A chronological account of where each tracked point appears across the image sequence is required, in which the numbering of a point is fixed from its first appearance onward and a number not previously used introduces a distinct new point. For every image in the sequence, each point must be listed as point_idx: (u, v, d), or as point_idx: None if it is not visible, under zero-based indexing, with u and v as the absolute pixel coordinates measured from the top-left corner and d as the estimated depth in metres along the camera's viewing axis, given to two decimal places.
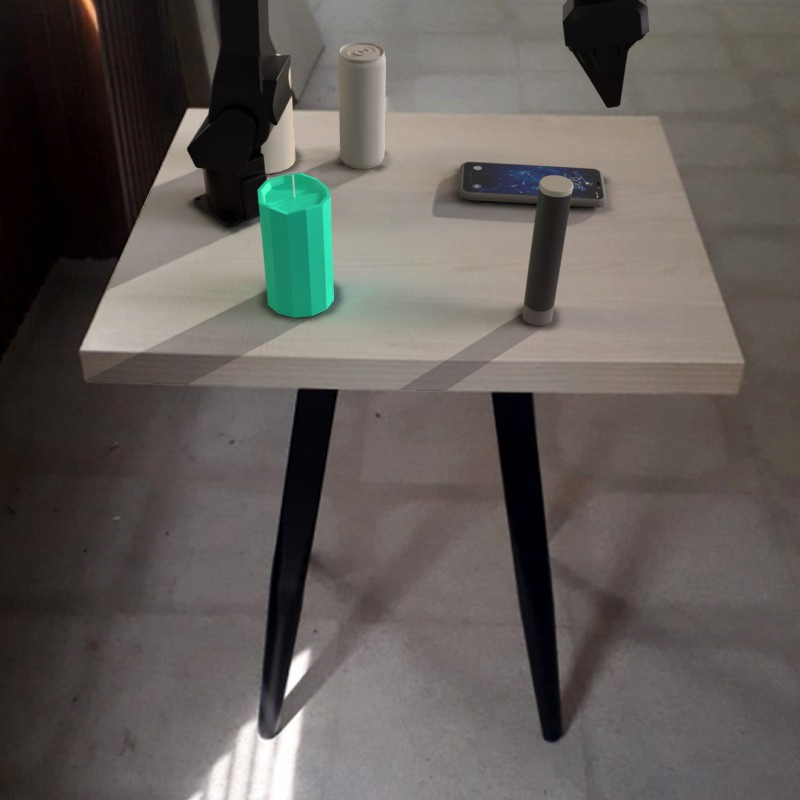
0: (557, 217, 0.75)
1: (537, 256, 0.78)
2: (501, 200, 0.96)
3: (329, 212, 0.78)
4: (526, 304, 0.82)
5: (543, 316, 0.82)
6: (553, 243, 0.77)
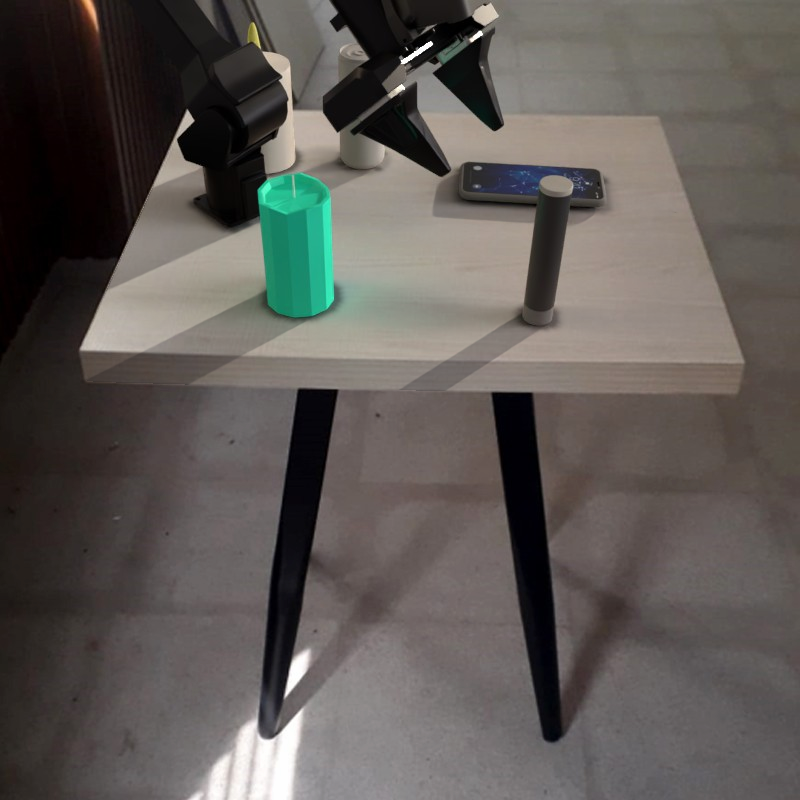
0: (557, 217, 0.75)
1: (537, 256, 0.78)
2: (501, 200, 0.96)
3: (329, 212, 0.78)
4: (526, 304, 0.82)
5: (543, 316, 0.82)
6: (553, 243, 0.77)
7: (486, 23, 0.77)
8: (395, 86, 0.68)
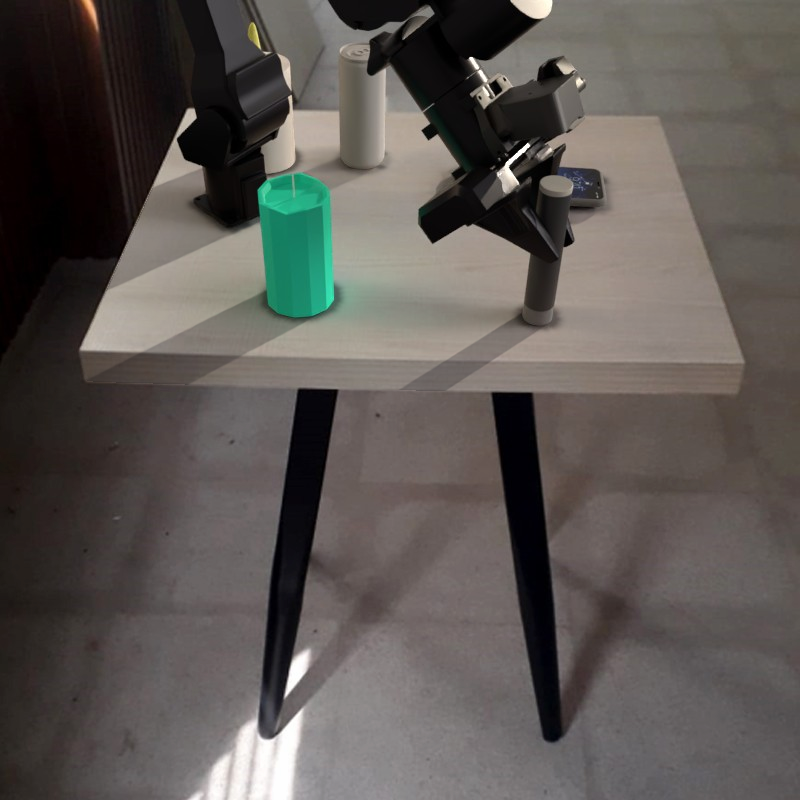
0: (557, 217, 0.75)
1: None
2: None
3: (329, 212, 0.78)
4: (526, 304, 0.82)
5: (543, 316, 0.82)
6: None
7: (573, 127, 0.78)
8: (493, 202, 0.69)
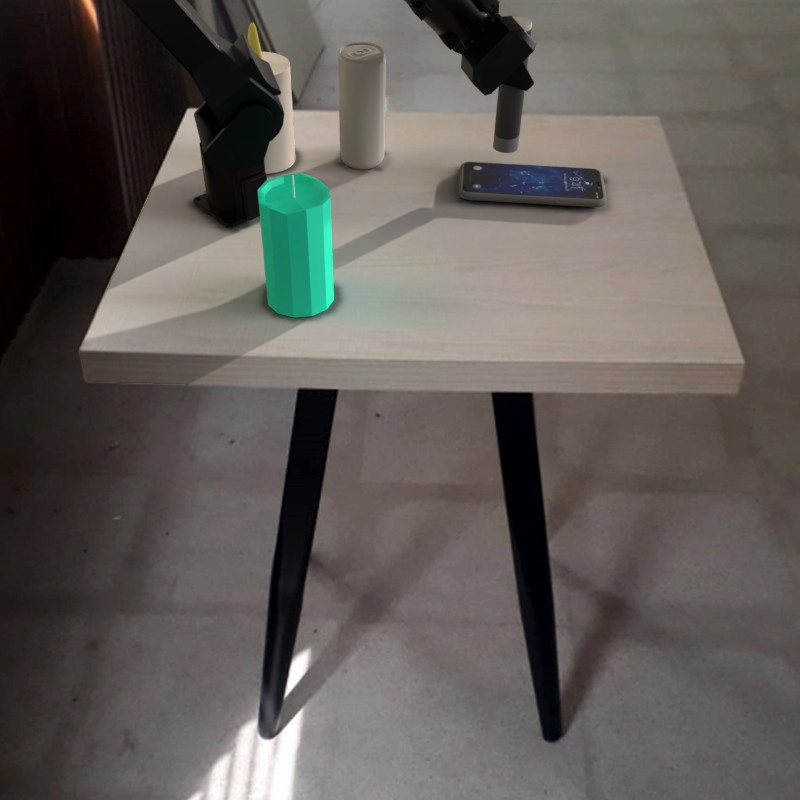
0: None
1: (513, 89, 0.94)
2: (501, 200, 0.96)
3: (329, 212, 0.78)
4: (503, 137, 0.97)
5: (517, 141, 0.98)
6: None
7: None
8: None
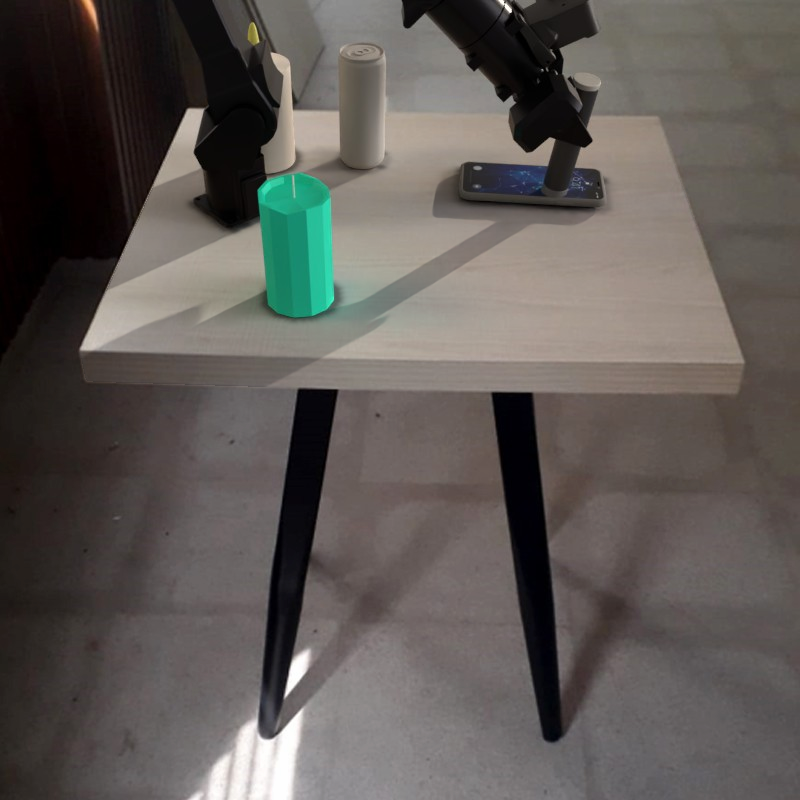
0: (590, 108, 0.89)
1: (568, 144, 0.92)
2: (501, 200, 0.96)
3: (329, 212, 0.78)
4: (550, 188, 0.95)
5: (564, 194, 0.96)
6: None
7: None
8: (579, 99, 0.82)
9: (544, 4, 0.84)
